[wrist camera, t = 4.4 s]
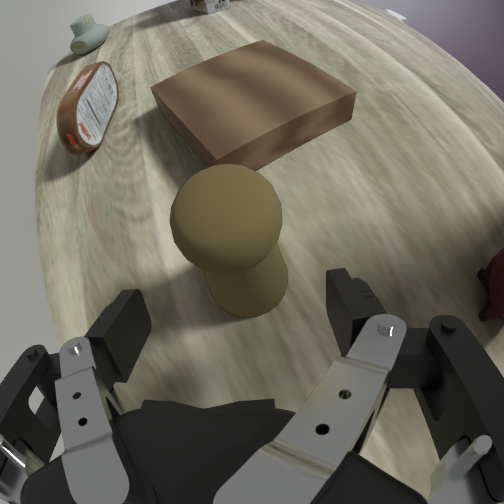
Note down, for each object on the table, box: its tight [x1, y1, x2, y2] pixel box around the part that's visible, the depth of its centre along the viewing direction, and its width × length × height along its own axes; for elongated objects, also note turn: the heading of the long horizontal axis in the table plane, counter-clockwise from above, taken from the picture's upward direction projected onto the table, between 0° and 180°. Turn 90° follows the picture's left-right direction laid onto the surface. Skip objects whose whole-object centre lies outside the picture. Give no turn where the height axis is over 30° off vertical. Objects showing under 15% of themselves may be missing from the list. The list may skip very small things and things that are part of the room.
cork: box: [170, 164, 288, 317], centre depth 17 cm, size 6×6×11 cm
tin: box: [57, 61, 119, 155], centre depth 28 cm, size 15×3×8 cm, turn 4°
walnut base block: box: [150, 40, 357, 171], centre depth 27 cm, size 16×16×4 cm
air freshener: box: [70, 14, 109, 54], centre depth 44 cm, size 11×8×10 cm
